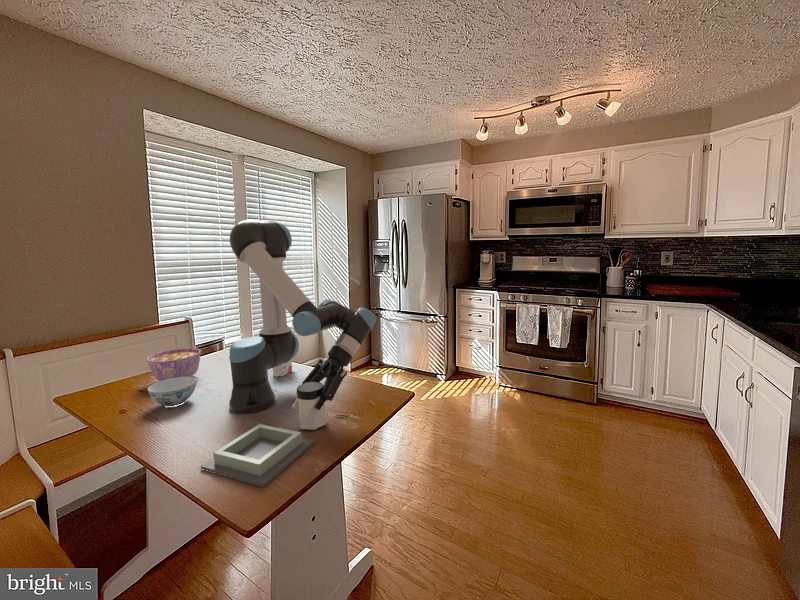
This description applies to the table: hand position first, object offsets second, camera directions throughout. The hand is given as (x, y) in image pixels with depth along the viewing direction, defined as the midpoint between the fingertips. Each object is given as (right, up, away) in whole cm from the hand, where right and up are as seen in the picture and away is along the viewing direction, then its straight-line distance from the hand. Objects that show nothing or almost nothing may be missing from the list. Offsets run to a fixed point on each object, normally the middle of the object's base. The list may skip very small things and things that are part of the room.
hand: (301, 413), depth 112 cm
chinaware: (-52, -4, +23) cm, 57 cm away
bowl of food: (-66, -1, +48) cm, 82 cm away
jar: (+3, -4, +3) cm, 6 cm away
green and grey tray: (-7, -7, -13) cm, 17 cm away
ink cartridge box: (-22, +1, +52) cm, 57 cm away
